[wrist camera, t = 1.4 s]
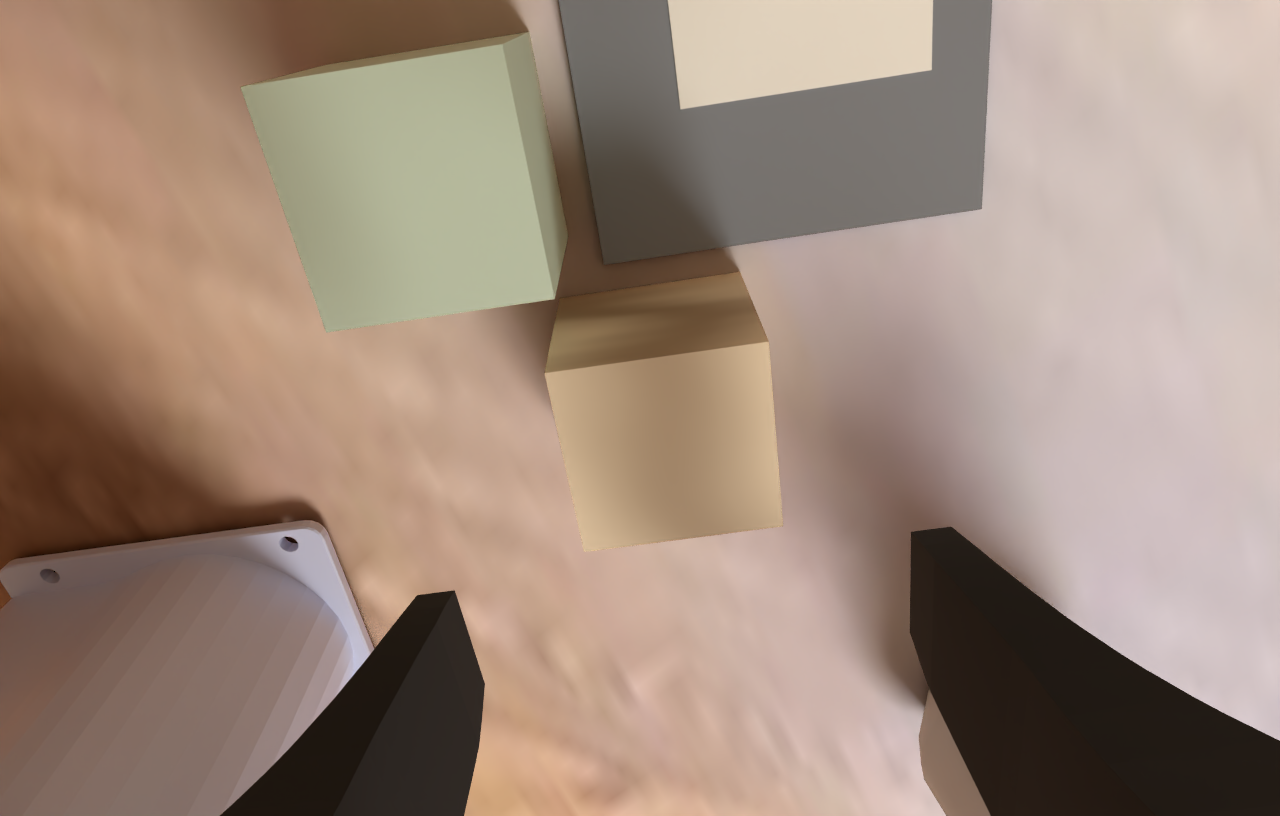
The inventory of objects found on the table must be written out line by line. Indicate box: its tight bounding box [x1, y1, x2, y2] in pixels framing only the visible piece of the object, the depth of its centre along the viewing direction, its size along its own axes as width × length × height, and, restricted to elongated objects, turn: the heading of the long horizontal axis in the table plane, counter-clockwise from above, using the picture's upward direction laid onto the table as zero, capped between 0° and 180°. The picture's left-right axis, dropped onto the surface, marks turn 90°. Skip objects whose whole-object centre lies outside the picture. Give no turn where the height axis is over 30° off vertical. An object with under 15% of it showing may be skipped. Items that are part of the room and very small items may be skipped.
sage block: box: [241, 32, 568, 333], centre depth 17 cm, size 4×4×4 cm
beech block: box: [544, 272, 783, 552], centre depth 19 cm, size 4×4×4 cm
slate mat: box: [559, 0, 992, 265], centre depth 17 cm, size 9×10×1 cm
